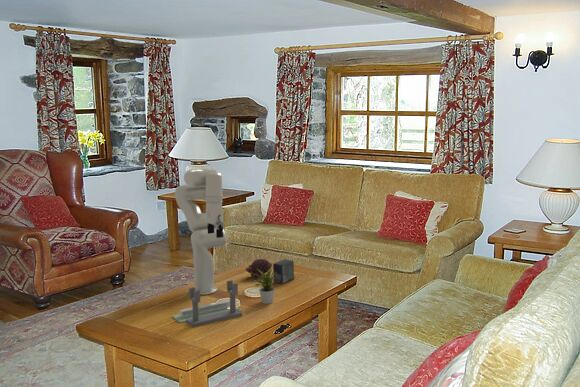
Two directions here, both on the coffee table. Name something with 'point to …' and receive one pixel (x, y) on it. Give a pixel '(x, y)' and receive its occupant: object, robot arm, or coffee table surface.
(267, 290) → the house plant
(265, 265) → the pine cone
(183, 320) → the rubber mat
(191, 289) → the grey base with uprights
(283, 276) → the small box
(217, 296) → the coffee table surface
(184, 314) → the steel rail
